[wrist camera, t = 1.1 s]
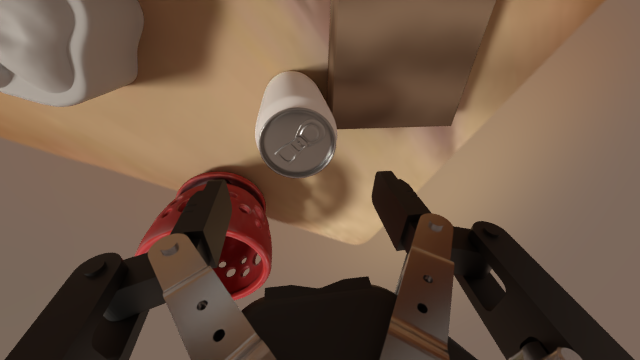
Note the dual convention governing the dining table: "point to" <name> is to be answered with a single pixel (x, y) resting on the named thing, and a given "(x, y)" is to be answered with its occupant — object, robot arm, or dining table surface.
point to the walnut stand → (401, 60)
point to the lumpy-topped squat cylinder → (68, 48)
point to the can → (295, 127)
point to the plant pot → (242, 235)
